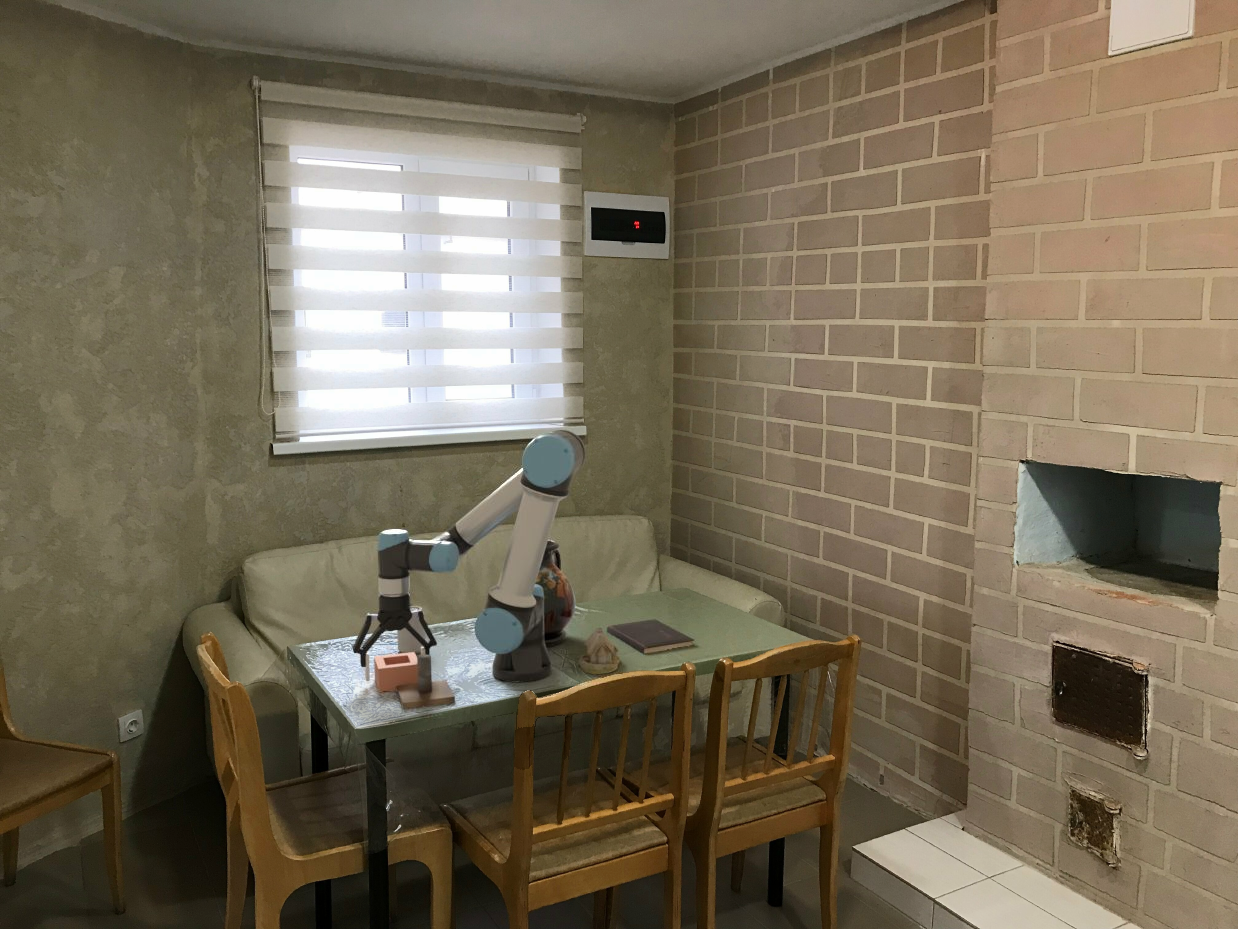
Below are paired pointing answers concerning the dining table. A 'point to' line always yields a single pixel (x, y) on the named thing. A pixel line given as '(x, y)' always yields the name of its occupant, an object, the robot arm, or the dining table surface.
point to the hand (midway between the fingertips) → (395, 676)
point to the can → (406, 639)
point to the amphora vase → (555, 596)
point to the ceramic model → (599, 654)
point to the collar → (395, 670)
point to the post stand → (425, 688)
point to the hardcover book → (649, 636)
